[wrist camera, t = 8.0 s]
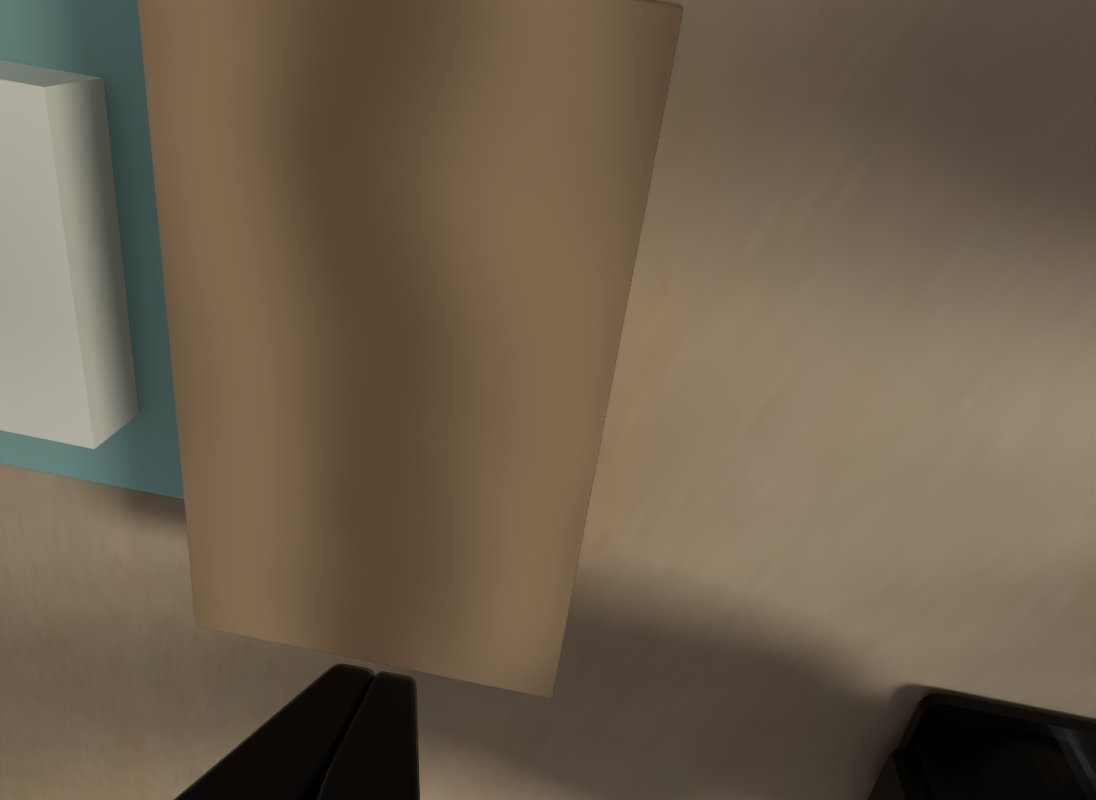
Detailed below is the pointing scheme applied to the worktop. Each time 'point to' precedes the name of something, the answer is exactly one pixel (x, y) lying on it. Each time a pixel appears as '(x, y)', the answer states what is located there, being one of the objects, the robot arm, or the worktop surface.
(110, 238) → the white block
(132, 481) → the mat
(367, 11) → the brown box
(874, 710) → the worktop surface
